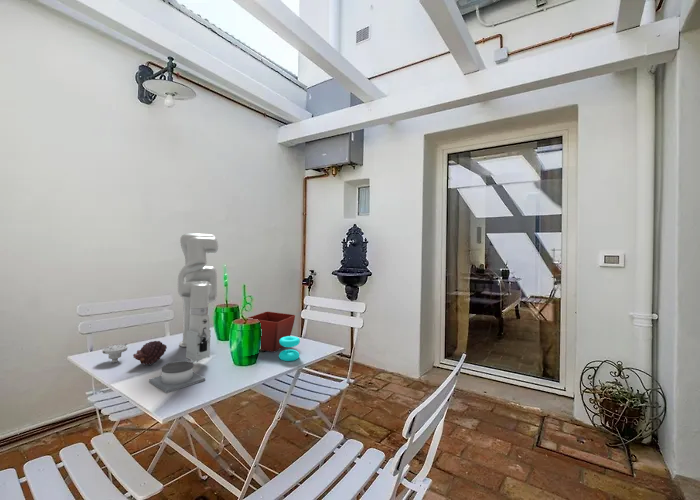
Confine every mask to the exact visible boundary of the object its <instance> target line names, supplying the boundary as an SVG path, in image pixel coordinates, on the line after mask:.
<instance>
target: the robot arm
mask: <svg viewBox="0 0 700 500" xmlns="http://www.w3.org/2000/svg"><path fill="white" fill-rule="evenodd" d="M179 241H180V242H179V243H180V248H181V250H182V252H183V256H184V260H185V261H184V262H185V263H184V264H185V265H184V266H183V267H182V268H181V269H180V270H179V273H178V276H177V292H178V293H177V294H178V296H179V297H181V299H182V307H183V314H182V315H183V319H182V324H183V325H182V340H181V341H179V346H180V347H183V348H186V347H187V331H189V330H192V331H194V332H197V333H199V337H200V342H201V343H200V352H204V351H207V342H208V340H209V337H210V338H211V333H210V329H211V327H210V325H211V324H210V316H209V304H210V303H211V304H212V303H215V302H216V301H217V298H218V274H217V269H216V268H215V266H212V265H211V266H210V265H207V263H208V262H207V254H217V252H218V249H219V242H218V239H217V237H216V236H215V234H212V233H211V234H210V233H185V234H181V236H180V240H179ZM203 332H204V334H205V335H204V336H201V335H202V334H203ZM203 337H205V338H204V339H202V338H203Z"/></svg>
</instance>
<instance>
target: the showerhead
mask: <svg viewBox="0 0 700 500" xmlns="http://www.w3.org/2000/svg"><path fill="white" fill-rule="evenodd" d="M126 351H128V342H127V343H124V344H115V345H114V344H113V345H107V346H105V347H104V348H103V349H102V351H101V352H102V353H103V354H104V355H108V359H109V360H111V363H117V362H118V360H119V358H121V357H122V353H125V352H126Z"/></svg>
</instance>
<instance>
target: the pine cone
mask: <svg viewBox="0 0 700 500" xmlns="http://www.w3.org/2000/svg"><path fill="white" fill-rule="evenodd" d="M166 350H167V345H166V344H164V343H163V342H162V341H160V340H154V341H149V342H147V343H145V344H143V345H142V346H141V349H138V350H137V351H136V353H133V355H132V356H133V359H135V360H137V361H139V363H140V364H141V365H149V366H150V365H152V364H154V363H157V362H158V360H160V359H161V357H162V356H164V355H165V353H166V352H167V351H166Z"/></svg>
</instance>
